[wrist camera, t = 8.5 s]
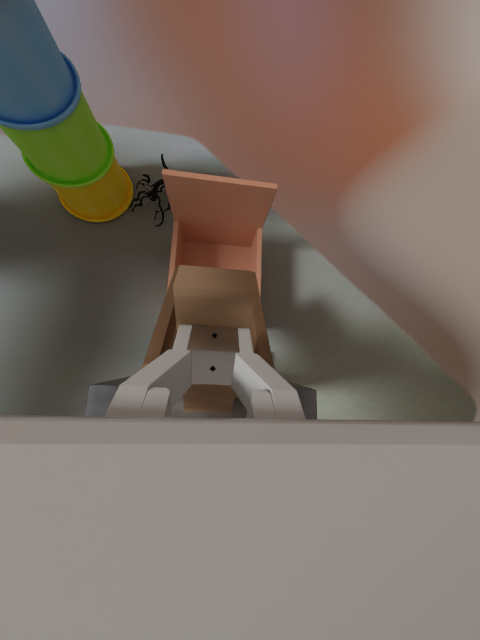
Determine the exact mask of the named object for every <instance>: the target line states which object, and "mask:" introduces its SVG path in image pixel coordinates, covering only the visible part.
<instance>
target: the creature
mask: <svg viewBox="0 0 480 640" xmlns="http://www.w3.org/2000/svg"><path fill="white" fill-rule="evenodd" d="M161 160H162V164H163V167H164V168H165V169H168V168H167V167H166V165H165V162H164V159H163V154H162V155H161ZM143 176H145V177H147V178H148V180H146V179H142V180H140V181H146V182H147V183H148V184H149V183H150V177H149V175H147V174H143ZM140 181H139V182H140ZM139 182H138V183H139ZM138 183H137V185H138ZM141 184H142V185H143V186H144V184H143V183H141ZM162 184H164V180H163V179H161V180H159V181H157V182H156V183H154V184H153V185H152V186H154V187H153V189H152V190H151V191H149V190H148V189H147V188H146V187H145V188H146V189H147V190H148V191H149V193H148V192H146V193H147V194H148V195H147V194H146V195H147V196H149V197H148V198H149V199H150V200H151V201H156V200H157V198H158V200H159V203H158V204H159V207H160V210H161V212H162V222H161V223H160V224H159V225H157V226H160V225H161V224H162V223H163V221H164V212H165V211H166V210H168V209H170V208H171V207H170V203H168V206H169V207H168V208H167V209H166V210H165V211H164V212H163V209H162V207H161V205H160V203H161V200H160V197H159V195H158V192H162V188H163V187H165V184H164V185H163V186H162V187H161V188H160V191H158V187H159V186H160V185H162ZM145 185H147V184H145ZM148 186H149V185H148ZM152 186H150V187H152ZM136 188H137V187H136ZM143 192H145V191H140V192H139V193H138V198H135V199H133V200H132V202H133V201H138V200H139V199H140V198H139V197H140V194H141V193H143ZM144 194H145V193H144ZM147 196H143V197H142V198H141V199H140V204H136V205H134V208H135V207H136V206H142V200H143V198H145V197H147ZM150 196H152V197H151V198H150ZM132 202H131V205H130V207H131V206H132ZM134 208H133V210H132V212H133V211H134ZM157 212H159V211H157V210H156V215H157ZM155 219H156V216H155ZM155 219H154V220H155ZM155 226H156V225H155Z"/></svg>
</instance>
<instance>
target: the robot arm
mask: <svg viewBox="0 0 480 640" xmlns="http://www.w3.org/2000/svg"><path fill="white" fill-rule="evenodd" d="M192 384H215V385H231V387H232V388H233V390H234V391H235V393H236V394H237V396H238V397H239V399H240V400H241V402H242V403H243V405H244V406H245V408H246V409H247V416H246V418H190V417H172V408H173V407H174V406H175V404H176V403H177V402H178V401H179V400H180V399H181V397H182V396H183V395H184V394H185V393H186V391H187V390H188V389H189V388H190V387H191V385H192ZM0 640H480V422H455V421H390V420H324V419H306V418H305V415H304V412H303V409H302V406H301V403H300V399H299V396H298V393H297V391H296V390H295V389H294V388H293V387H292V386H291V385H290V384H289V383H288V382H287V381H286V380H285V379H284V378H283V377H281V376H280V375H279V374H278V373H277V372H276V371H275V370H274V369H273V368H272V367H271V366H270V365H269V364H268V363H267V362H265V361H264V360H263V359H262V358H261V357H260V356H259V355H258V354H254V352H253V346H252V340H251V333H250V329H249V328H225V327H212V326H200V325H186V324H180V326H179V328H178V332H177V335H176V339H175V342H174V346H173V349H172V350H167V351H166V352H165V353H163V354H162V355H160V356H159V357H158V358H156V359H155V360H154V361H152V362H151V363H149V364H148V365H147V366H145V367H144V368H142V369H141V370H140V371H138V372H137V373H136V374H134V375H133V376H131V377H130V378H129V379H127V380H126V381H125V382H123V383H122V384H120V385H119V387H118V389H117V391H116V393H115V395H114V397H113V400H112V402H111V404H110V406H109V408H108V410H107V412H106V414H105V416H55V415H0Z"/></svg>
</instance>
